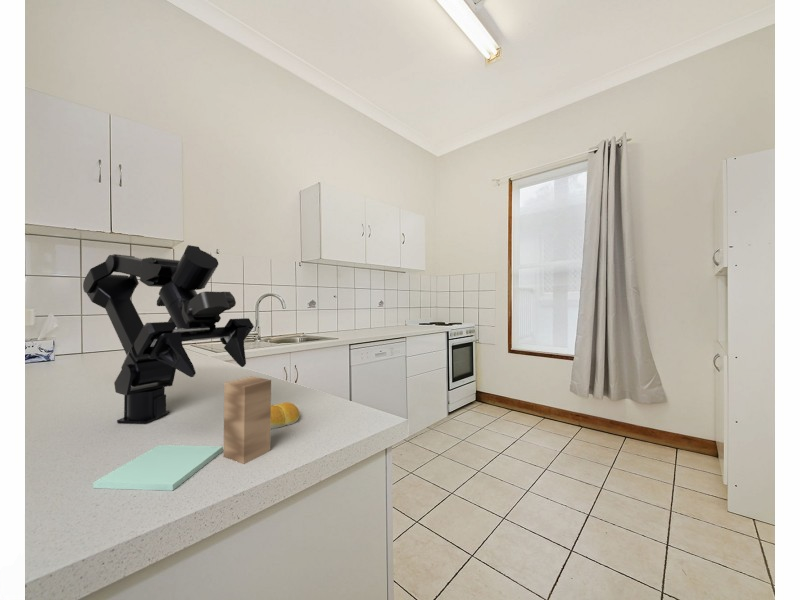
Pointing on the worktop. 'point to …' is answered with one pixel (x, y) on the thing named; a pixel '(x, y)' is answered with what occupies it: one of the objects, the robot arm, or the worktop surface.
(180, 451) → the green board
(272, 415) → the bread roll
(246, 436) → the walnut block
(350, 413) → the worktop surface
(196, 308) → the robot arm
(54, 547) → the worktop surface
